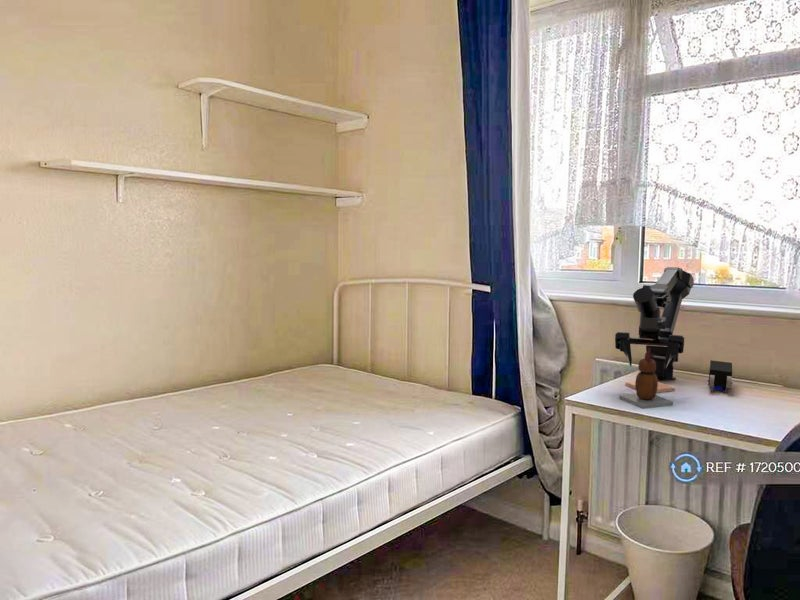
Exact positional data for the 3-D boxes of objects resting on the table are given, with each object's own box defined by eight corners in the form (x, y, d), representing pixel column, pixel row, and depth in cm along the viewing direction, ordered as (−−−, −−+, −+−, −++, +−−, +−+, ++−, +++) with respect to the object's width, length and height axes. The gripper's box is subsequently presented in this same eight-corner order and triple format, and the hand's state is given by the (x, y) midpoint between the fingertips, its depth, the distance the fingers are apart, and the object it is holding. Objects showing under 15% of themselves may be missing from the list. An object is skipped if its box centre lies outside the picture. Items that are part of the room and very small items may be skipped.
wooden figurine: (655, 402, 167) (658, 349, 165) (633, 399, 170) (635, 347, 168) (658, 396, 173) (660, 345, 171) (636, 394, 175) (638, 343, 174)
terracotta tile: (625, 385, 189) (625, 382, 189) (651, 382, 192) (652, 379, 192) (646, 393, 180) (646, 390, 179) (674, 390, 182) (674, 387, 182)
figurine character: (732, 400, 177) (731, 383, 190) (734, 375, 175) (732, 359, 189) (707, 397, 180) (707, 380, 193) (708, 373, 178) (708, 357, 192)
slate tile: (619, 398, 174) (619, 395, 174) (648, 395, 177) (648, 392, 177) (642, 408, 165) (642, 404, 165) (672, 405, 168) (673, 401, 168)
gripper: (616, 305, 180) (612, 348, 171) (685, 308, 173) (685, 353, 164) (617, 327, 188) (613, 369, 180) (683, 330, 181) (682, 375, 172)
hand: (647, 366), depth 174 cm, fingers open, 9 cm apart
